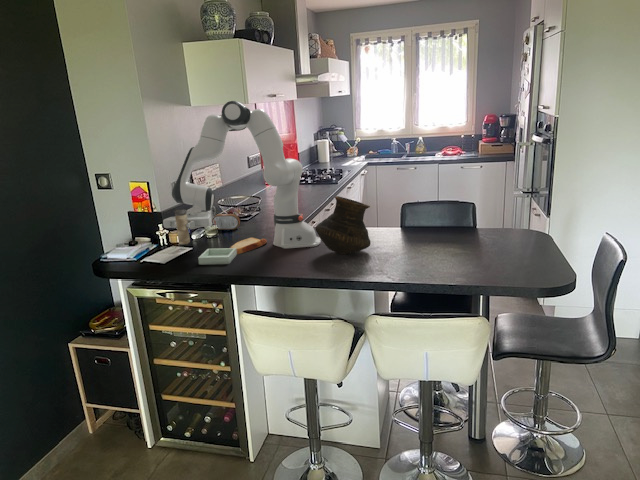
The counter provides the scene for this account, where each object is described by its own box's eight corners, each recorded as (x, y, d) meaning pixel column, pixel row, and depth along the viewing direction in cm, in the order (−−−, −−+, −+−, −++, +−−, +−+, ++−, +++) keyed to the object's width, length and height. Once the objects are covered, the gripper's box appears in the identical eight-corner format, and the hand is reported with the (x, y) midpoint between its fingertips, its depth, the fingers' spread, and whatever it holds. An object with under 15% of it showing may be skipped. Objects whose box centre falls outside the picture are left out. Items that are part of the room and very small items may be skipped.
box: (237, 254, 214) (236, 248, 213) (229, 263, 202) (228, 257, 201) (208, 255, 215) (207, 248, 214) (199, 264, 203) (198, 257, 202)
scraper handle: (190, 241, 205) (185, 209, 202) (187, 244, 202) (182, 211, 198) (182, 242, 206) (177, 209, 202) (179, 244, 202) (174, 211, 199)
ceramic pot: (304, 255, 209) (301, 198, 202) (342, 243, 224) (341, 189, 217) (344, 266, 192) (342, 204, 185) (382, 252, 207) (382, 195, 200)
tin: (241, 228, 261) (239, 213, 259) (239, 229, 258) (238, 214, 256) (214, 228, 263) (212, 213, 261) (212, 230, 260) (210, 215, 258)
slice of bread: (230, 255, 214) (229, 247, 213) (228, 245, 231) (227, 237, 230) (270, 251, 218) (269, 243, 217) (266, 241, 235) (265, 233, 234)
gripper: (168, 212, 214) (156, 219, 201) (213, 210, 212) (204, 217, 199) (170, 226, 216) (158, 234, 203) (215, 224, 214) (206, 232, 201)
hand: (181, 226), depth 201 cm, fingers closed on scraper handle, 3 cm apart
